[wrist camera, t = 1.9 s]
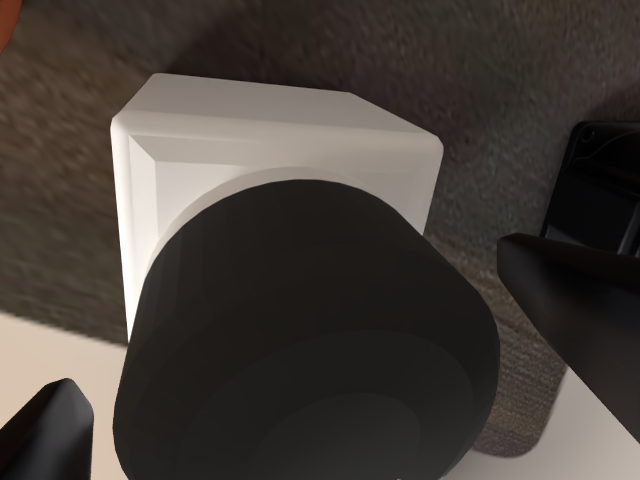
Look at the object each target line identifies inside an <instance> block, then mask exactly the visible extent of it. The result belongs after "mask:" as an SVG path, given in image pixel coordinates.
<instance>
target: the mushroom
mask: <svg viewBox="0 0 640 480" xmlns="http://www.w3.org/2000/svg"><path fill="white" fill-rule="evenodd" d="M21 4H22V0H0V54H1V52H2V51H3V49H4V48H5V46H6V45H7V43H8V41H9V39H10V37H11V35H12V32H13V30H14V28H15V26H16V23H17V19H18V15H19V11H20V7H21Z"/></svg>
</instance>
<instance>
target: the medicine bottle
mask: <svg viewBox="0 0 640 480" xmlns="http://www.w3.org/2000/svg"><path fill="white" fill-rule="evenodd" d="M110 129H111V141H112V152H113V164H114V176H115V187H116V199H117V211H118V222H119V234H120V246H121V257H122V269H123V281H124V292H125V304H126V316H127V327H128V339H129V345H128V349H127V354H126V358H125V362H124V367H123V371H122V376H121V380H120V384H119V388H118V393H117V397H116V402H115V407H114V418H113V436H114V445H115V451H116V453H117V456H118V459H119V462H120V465H121V468H122V470H123V471H124V473H125V475H126V476H127V478H128V479H129V480H441V479H442V478H443V477H444V476H446V475H447V473H448V472H449V471H450V470H451V469H452V468H453V467H454V466H455V465H456V464H457V463H458V462H459V461H460V460H461V459H462V457H463V456H464V455H465V454H466V453H467V451H468V450H469V449H470V448H471V446H472V445H473V443H474V442H475V440H476V439H477V437H478V436H479V434H480V433H481V431H482V429H483V427H484V425H485V423H486V421H487V419H488V417H489V415H490V412H491V409H492V406H493V403H494V400H495V396H496V390H497V384H498V377H499V367H500V341H499V336H498V331H497V326H496V323H495V321H494V318H493V316H492V314H491V311H490V309H489V307H488V305H487V304H486V303H485V301H484V300H483V298H482V297H481V295H480V294H479V292H478V291H477V290H476V289H475V288H474V287H473V286H472V285H471V284H470V283H469V282H468V281H467V280H466V279H465V278H464V277H463V276H462V275H461V274H460V273H459V272H458V271H457V270H456V269H455V268H454V267H453V266H452V265H451V264H450V263H449V262H448V261H447V260H446V259H445V258H444V257H443V256H442V255H441V254H440V253H439V252H438V251H437V250H436V249H435V248H434V247H433V246H432V245H431V244H430V243H429V242H428V241H427V240H426V239H425V238H424V237H423V232H424V228H425V224H426V220H427V216H428V212H429V208H430V204H431V200H432V196H433V192H434V188H435V184H436V180H437V176H438V172H439V168H440V164H441V160H442V156H443V145H442V143H441V141H440V140H439V138H438V137H437V136H435V135H433V134H431V133H429V132H427V131H425V130H423V129H421V128H419V127H417V126H415V125H413V124H411V123H409V122H407V121H405V120H404V119H402V118H400V117H398V116H396V115H394V114H392V113H390V112H388V111H386V110H384V109H382V108H380V107H378V106H376V105H374V104H372V103H370V102H368V101H366V100H364V99H362V98H360V97H358V96H356V95H354V94H352V93H349V92H340V91H330V90H320V89H311V88H301V87H291V86H281V85H272V84H262V83H252V82H243V81H233V80H223V79H214V78H204V77H194V76H184V75H175V74H165V73H157V74H153V75H152V76H151V77H150V78H149V79H148V80H147V81H146V82H145V83H144V84H143V85H142V87H141V88H140V89H139V90H138V91H137V92H136V93H135V94H134V95H133V96H132V98H131V99H130V100H129V101H128V102H127V103H126V104H125V105H124V106H123V107H122V109H121V110H120V111H119V112H118V113H117V114H116V115H115V116H114V117H113V118H112V123H111V128H110Z"/></svg>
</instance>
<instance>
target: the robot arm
mask: <svg viewBox="0 0 640 480" xmlns="http://www.w3.org/2000/svg"><path fill="white" fill-rule="evenodd" d="M585 131H586V133H585V135H584V136H583V134H584V132H585ZM497 272H498V276H499V278H500V280H501V281H502V283H503V284H504V286H505V287H506V288H507V290H508V291H509V292H510V294H511V295H512V297H513V298H514V299H515V301H516V302H517V303H518V305H519V306H520V308H521V309H522V310H523V312H524V313H525V314H526V316H527V317H528V318H529V320H530V321H531V323H532V324H533V325H534V327H535V328H536V329H537V331H538V332H539V333H540V334H541V336H542V337H543V338H544V339H545V340H546V341H547V342H548V344H549V345H550V346H551V347H552V348H553V349H554V350H555V351H556V352H557V354H558V355H559V356H560V357H561V358H562V359H563V360H564V361H565V362H566V363H567V365H568V366H569V367H570V368H571V369H572V370H573V371H574V372H575V373H576V374H577V376H578V377H579V378H580V379H581V380H582V381H583V382H584V383H585V384H586V385H587V386H588V388H589V389H590V390H591V391H592V392H593V393H594V394H595V395H596V396H597V398H598V399H599V400H600V401H601V402H602V403H603V404H604V405H605V406H606V407H607V409H608V410H609V411H610V412H611V413H612V414H613V415H614V416H615V417H616V418H617V420H618V421H619V422H620V423H621V424H622V425H623V426H624V427H625V428H626V430H627V431H629V433H630V434H631V435H632V436H633V437H634V438H635V439H636V441H638V442H639V444H640V121H582V122H580V123H578V124H577V125H576V126H575V127H574V128H573V131H572V133H571V136H570V139H569V143H568V146H567V149H566V152H565V156H564V159H563V162H562V165H561V169H560V172H559V175H558V178H557V182H556V185H555V188H554V191H553V195H552V198H551V201H550V204H549V208H548V211H547V214H546V217H545V221H544V224H543V227H542V230H541V234H540V237H537V236H532V235H527V234H522V233H513V234H510V235H507V236H504V237H501V238H500V239H499V240H498V242H497ZM93 423H94V414H93V409H92V406H91V404H90V403H89V401H88V400H87V399H86V397H85V396H84V394H83V393H82V392H81V390H80V389H79V387H78V386H77V385H76V383H75V382H74V381H73V380H72V379H69V378H64V379H61V380H58V381H55V382H52V383H49V384H47V385H45V386H44V387H43V388H42V389H41V390H40V391H39V392H38V393H37V394H36V395H35V396H34V397H33V398H32V399H31V400H30V401H28V402H27V403H26V404H25V405H24V407H22V408H21V409H20V410H19V411H18V412H17V413H16V414H15V415H14V416H13V417H12V418H11V419H10V420H9V421H8V422H7V423H6V424H5V425H4V426H3V427H2V428H1V429H0V480H91V479H90V478H91V462H92V443H93V425H94V424H93Z"/></svg>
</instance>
